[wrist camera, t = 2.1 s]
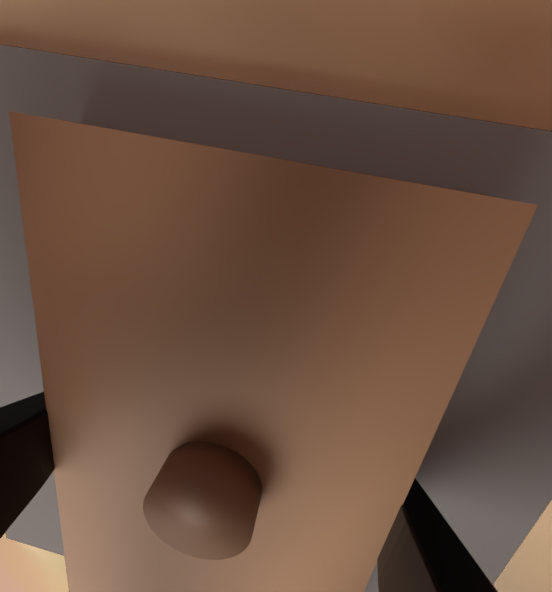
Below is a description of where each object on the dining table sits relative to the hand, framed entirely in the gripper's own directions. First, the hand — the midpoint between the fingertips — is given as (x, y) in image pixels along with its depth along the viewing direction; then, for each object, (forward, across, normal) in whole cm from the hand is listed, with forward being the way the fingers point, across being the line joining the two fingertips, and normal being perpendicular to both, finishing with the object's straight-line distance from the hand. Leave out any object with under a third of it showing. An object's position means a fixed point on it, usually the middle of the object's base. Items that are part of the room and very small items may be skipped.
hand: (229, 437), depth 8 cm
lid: (0, 0, 0) cm, 0 cm away
